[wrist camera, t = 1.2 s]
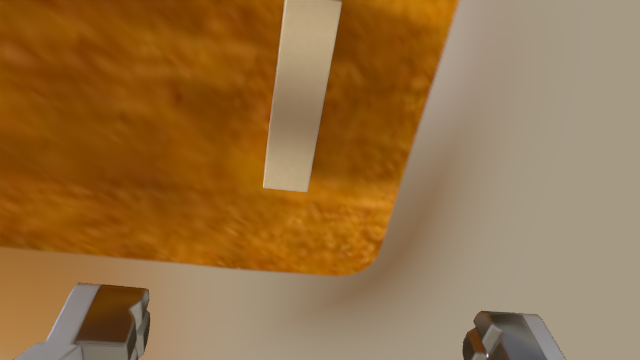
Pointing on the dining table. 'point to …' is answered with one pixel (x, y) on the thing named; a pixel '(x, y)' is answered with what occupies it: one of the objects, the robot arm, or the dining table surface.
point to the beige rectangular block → (299, 91)
